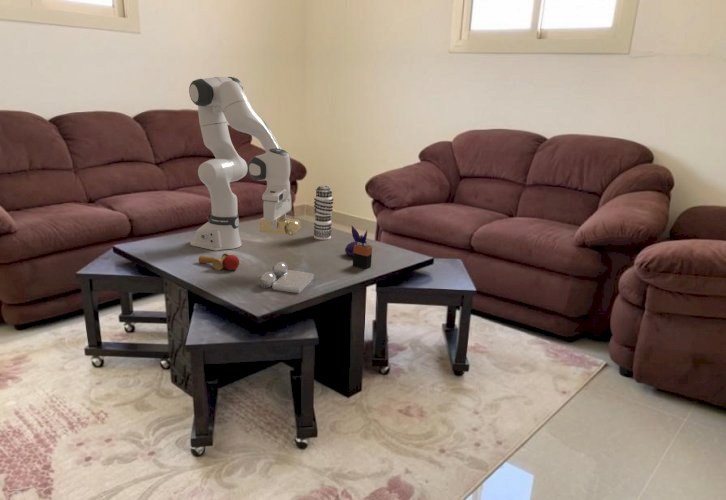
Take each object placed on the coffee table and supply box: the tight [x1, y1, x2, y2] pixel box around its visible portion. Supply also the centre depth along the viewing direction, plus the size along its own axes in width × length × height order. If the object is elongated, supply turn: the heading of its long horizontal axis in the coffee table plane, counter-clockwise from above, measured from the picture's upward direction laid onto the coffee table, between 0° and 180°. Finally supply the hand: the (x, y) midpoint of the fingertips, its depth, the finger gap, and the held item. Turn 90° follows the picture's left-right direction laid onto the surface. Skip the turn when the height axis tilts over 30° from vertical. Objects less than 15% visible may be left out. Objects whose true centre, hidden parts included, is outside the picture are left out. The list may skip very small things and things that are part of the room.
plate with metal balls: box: [258, 261, 315, 294], centre depth 195 cm, size 16×16×5 cm
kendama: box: [198, 252, 240, 271], centre depth 207 cm, size 8×6×18 cm
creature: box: [344, 225, 368, 257], centre depth 232 cm, size 9×18×12 cm, turn 155°
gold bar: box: [259, 216, 303, 236], centre depth 204 cm, size 6×15×5 cm, turn 77°
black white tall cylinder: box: [313, 185, 334, 241], centre depth 251 cm, size 9×9×25 cm
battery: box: [352, 242, 373, 270], centre depth 217 cm, size 4×7×10 cm, turn 57°
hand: (278, 226), depth 204 cm, fingers closed on gold bar, 6 cm apart
